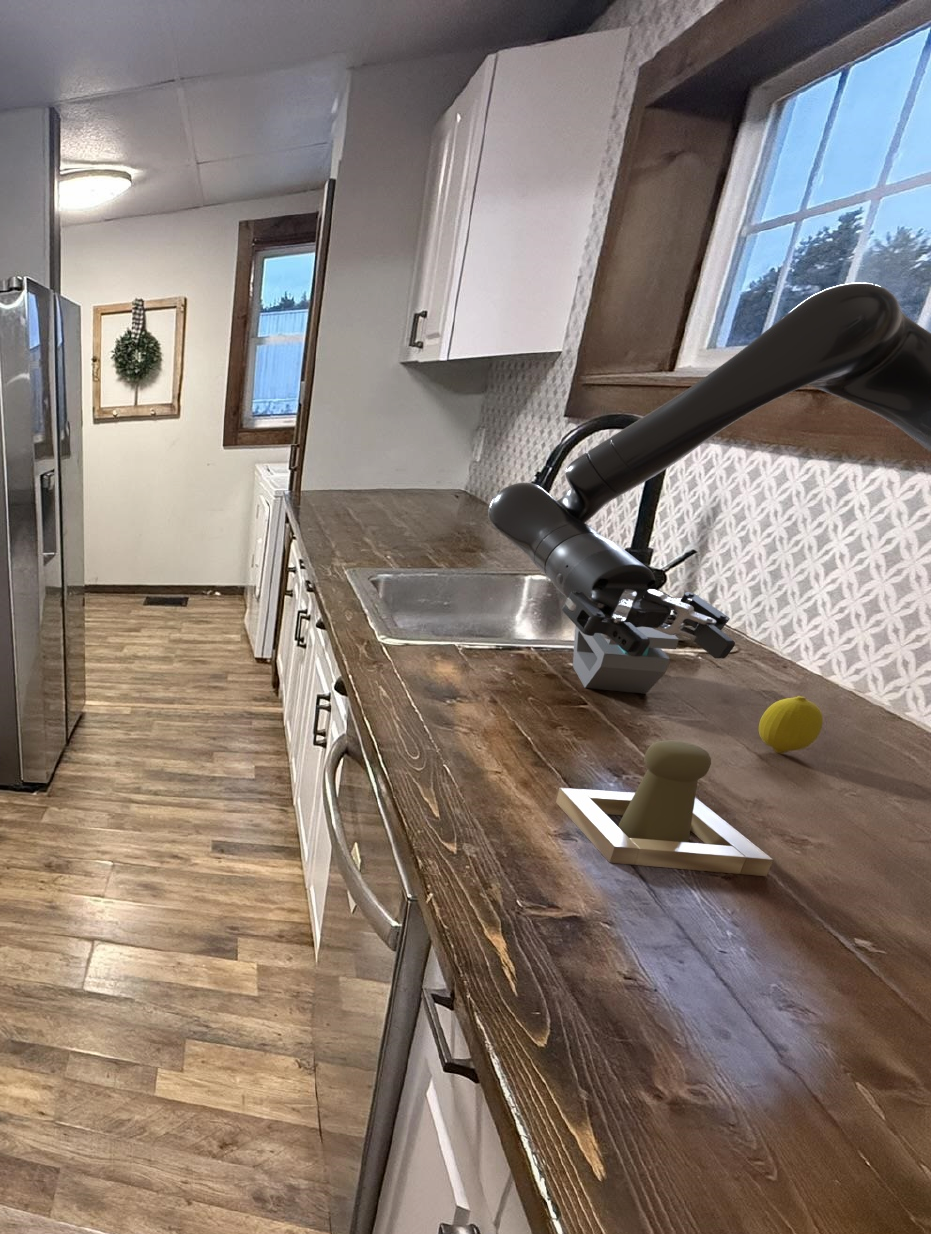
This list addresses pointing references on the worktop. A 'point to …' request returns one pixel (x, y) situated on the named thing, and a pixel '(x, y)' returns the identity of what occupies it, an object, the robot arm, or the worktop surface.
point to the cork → (666, 792)
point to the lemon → (790, 724)
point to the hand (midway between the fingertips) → (684, 650)
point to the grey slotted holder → (621, 662)
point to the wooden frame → (716, 855)
